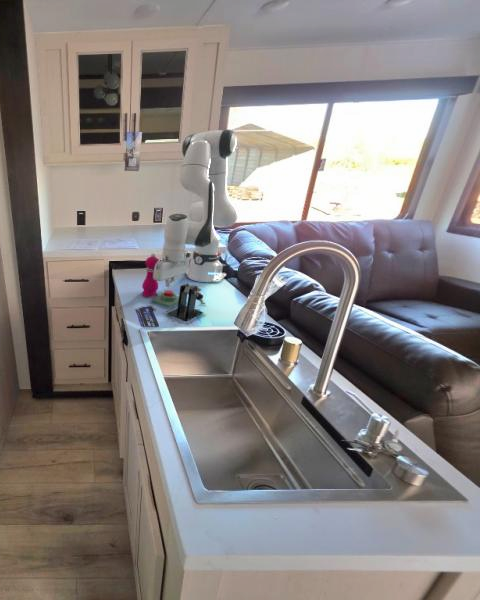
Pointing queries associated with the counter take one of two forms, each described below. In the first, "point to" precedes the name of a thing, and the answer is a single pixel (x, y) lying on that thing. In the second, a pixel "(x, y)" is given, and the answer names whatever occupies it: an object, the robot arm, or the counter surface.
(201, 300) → the soupspoon
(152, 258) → the pepper mill
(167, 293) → the button
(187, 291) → the lever
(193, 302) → the bracket
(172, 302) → the button box
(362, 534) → the counter surface
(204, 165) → the robot arm
